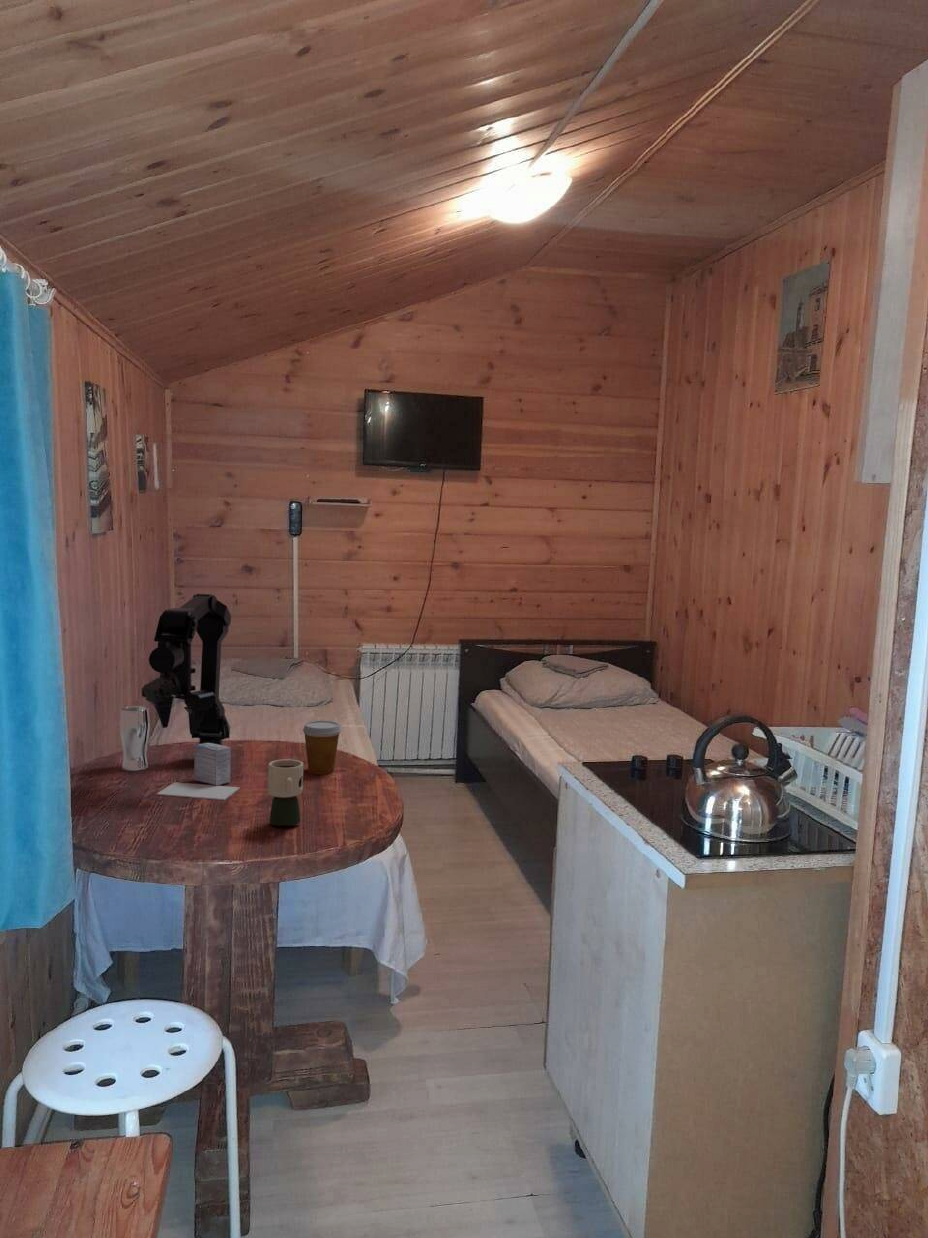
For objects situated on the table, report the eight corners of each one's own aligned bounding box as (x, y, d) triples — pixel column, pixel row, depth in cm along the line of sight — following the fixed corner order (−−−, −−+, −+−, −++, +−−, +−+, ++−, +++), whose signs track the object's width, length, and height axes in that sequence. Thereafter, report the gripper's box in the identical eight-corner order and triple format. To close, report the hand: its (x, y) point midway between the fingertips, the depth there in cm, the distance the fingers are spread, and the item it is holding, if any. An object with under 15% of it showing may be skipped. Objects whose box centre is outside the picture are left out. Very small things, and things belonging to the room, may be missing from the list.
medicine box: (230, 783, 216) (231, 746, 216) (216, 786, 213) (217, 749, 212) (208, 777, 221) (208, 742, 220) (193, 780, 217) (194, 744, 216)
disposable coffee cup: (341, 766, 235) (342, 720, 233) (338, 777, 225) (339, 729, 224) (304, 765, 234) (305, 719, 233) (299, 776, 225) (300, 728, 223)
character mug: (306, 831, 186) (307, 769, 184) (271, 834, 183) (272, 771, 182) (297, 814, 196) (298, 755, 195) (264, 817, 194) (264, 757, 192)
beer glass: (143, 772, 223) (143, 712, 221) (115, 771, 223) (115, 710, 221) (153, 764, 230) (153, 706, 228) (126, 763, 230) (126, 705, 228)
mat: (174, 783, 215) (174, 782, 215) (239, 788, 213) (239, 787, 213) (156, 794, 206) (156, 793, 206) (224, 800, 204) (224, 799, 204)
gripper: (121, 664, 207) (122, 731, 209) (178, 675, 197) (179, 745, 199) (161, 657, 216) (162, 721, 218) (217, 667, 206) (217, 735, 209)
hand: (178, 730), depth 211 cm, fingers open, 9 cm apart
